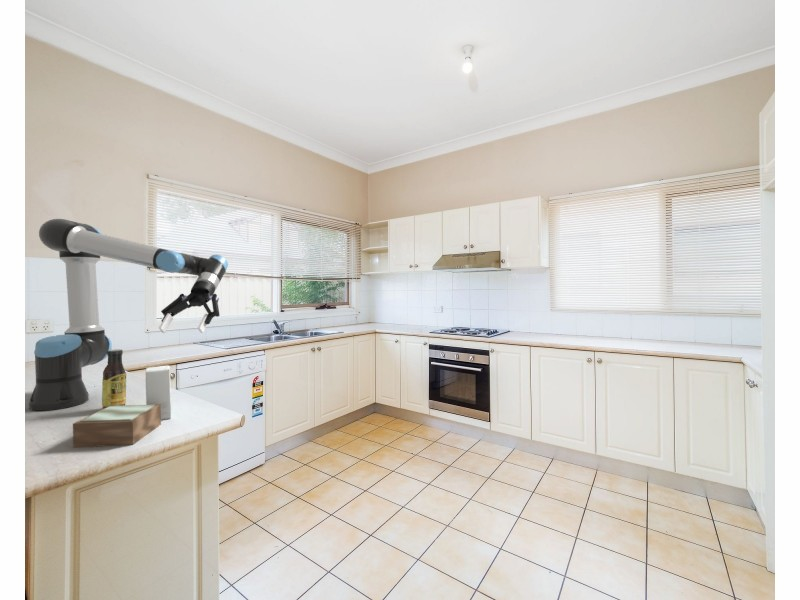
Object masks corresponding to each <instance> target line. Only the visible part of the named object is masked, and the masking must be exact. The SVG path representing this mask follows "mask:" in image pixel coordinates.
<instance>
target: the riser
mask: <svg viewBox="0 0 800 600" xmlns="http://www.w3.org/2000/svg"><path fill="white" fill-rule="evenodd" d="M159 425H160V426H161V425H162V420H161V404H155V405H146V404H136V405H135V404H131V405H126V404H125V405H123V406H108V407H106V408H104V409H102V408H101V409H99V410H97V411H96V412H94V413H92V414H90V415H88V416H85V417H84V418H82V419H80V420H78V421H75V422H73V423H72V443H73V444H72V445H73V446H72V447H73V448H89V447H90V448H91V447H110V446H111V447H112V446H115V447H116V446H133V445H135V444H136V443H137V442H139V441H141V440H142V439H143V438H144V437H146V436H147V435H149V434H150V433H151V432H152V431H154V430H156V428H158V427H160V426H159Z"/></svg>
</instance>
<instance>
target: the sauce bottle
mask: <svg viewBox="0 0 800 600" xmlns="http://www.w3.org/2000/svg"><path fill="white" fill-rule="evenodd" d="M123 353H124V352H123V349H119V348H118V349H111V350H108V351H107V355H108V356H107V365H106V367H104V369H103V371H102V388H101V389H102V390H101V392H102V393H101V406H102V408H101V410H102V409H104V408H106V407H108V406H123V405H126V403H127V372H126V371H125V366H124V365H123V361H122V359H123Z"/></svg>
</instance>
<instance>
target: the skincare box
mask: <svg viewBox="0 0 800 600" xmlns="http://www.w3.org/2000/svg"><path fill="white" fill-rule="evenodd" d="M171 385H172V384H171V369H170V365H160V366H150V367H146V368H145V402H146V403H145V405H155V404H161V421H164V420H168V419H171V418H172V399H171V398H172V395H171V394H172V393H171V389H172V388H171V387H172V386H171Z"/></svg>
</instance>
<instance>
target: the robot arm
mask: <svg viewBox="0 0 800 600" xmlns="http://www.w3.org/2000/svg"><path fill="white" fill-rule="evenodd" d="M38 231H39V232H38V237H39V239H40V241H41V243H42V244H43V245H44V246H45V247H47V248H49V249H50V250H53V251H54V252H55V251H56V252H58V255H59V259H60V260H61V261H62V262H64V264H65V275H66V276H65V278H66V279H65V280H66V290H67V305H68V306H67V307H68V323H69V325H68V326H69V327H68V328H67V329H65V331H64V334H58V335H51V336H45V337H43V338H41V339H39V340H37V341H36V342H35V346H34V347H35V348H34V352H33V353H34V359H35V361H34V362H35V363H34V364H35V365H34V366H35V367H34V369H35V387H33V391H32V393H31V395H30V399H29V401H28V409H29V410H30V409H32V410H31V411H36V410H43V411H51V410H60V409H66V408H70V407H74V406H79V405H81V404H84V403H87V402H88V401H89V391H88V390H87V386H86V385H85V383H84V381H83V378H82V377H83V375H82V372H83V371H82V370H83V369H82V368H84V367H87V366H91V365H95V364H97V363H100V362H102V361H103V360H105V359H106V358H108V355H107V351H108V350H113V349H112V348H113V345H112V340H111V338H109V337H108V336H107V335H106V332H105V331H106V330H105V328H104V327H102V326H101V325H100V318H99V303H98V301H99V300H98V287H97V286H98V284H97V269H96V265H97V263H98V262H99V261H100V260H101V257H104V258H108V259H112V260H117V261H122V262H126V263H130V264H134V265H138V266H142V267H148V268H151V269H152V268H153V269H157V270H160V271H163V272H165V273H171V274H174V273H176V274H186V275H191V276H196V277H197V276H198V277H197V279H196V280H195V282H194V283H193V285H192V287H191V288H190V293H189V294H188V295H185V294H184V293H180V294H179V295H178V297H177V298H176V299H174V300H173V301H172V302H171V303H169V304H168V305H167V306H165V307H164V308H163V309H161V311H160V312H161V314H163V317H162V319H161V323H160V325H159V326H158V330H160V332H161V333H163V334H165V333H166V331H167V329H168V328H169V326H170V324H172V322H173V319H174V316H177V315H179V313H181V312H183V311H185V310H186V309H190V308H193V307H202V306H203V307H204V310H205V311H206V313H204V315H203V316H202V319H201V321H200V322H199V324H198V326H197V330H198V331H199V332H200V334H203V333H204V332H205V330H206V328H207V326H208V325H209V324H211V322H212V319H214V318H215V317H217V318H218V317H220V310H219V309H220V307H219V304H218V303H219V299H220V298H219V296H218V295H217V293H216V290H217V289H218V287H219V284H220V282H221V280H222V279H223V277H224V275H225V274H226V272H227V269H228V267H229V263H228V260H227V259H226V258H225V257H224V256H222V255H220V254H212V255H211V256H209V257H208V258H206V257H199V256H196V255H193V254H192V255H191V254H188V253H183V252H177V251H174V250H169V249H166V248H161V247H156V246H153V245H149V244H148V245H147V244H144V243H139V242H136V241H132V240H128V239H123V238H119V237H115V236H111V235H107V234H103V233H102V231H100V230H99V229H98V228H96V227H94V226H92V225H90V224H86V223H82V222H76V221H73V220H69V219H66V218H65V219H63V218H52V219H49V220H47V221H45V222H44V223H43V224H42V225H40V228H39V230H38ZM210 301H211V303H212V310H211V307H209V305H208V304H207V303H209V302H210Z"/></svg>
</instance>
